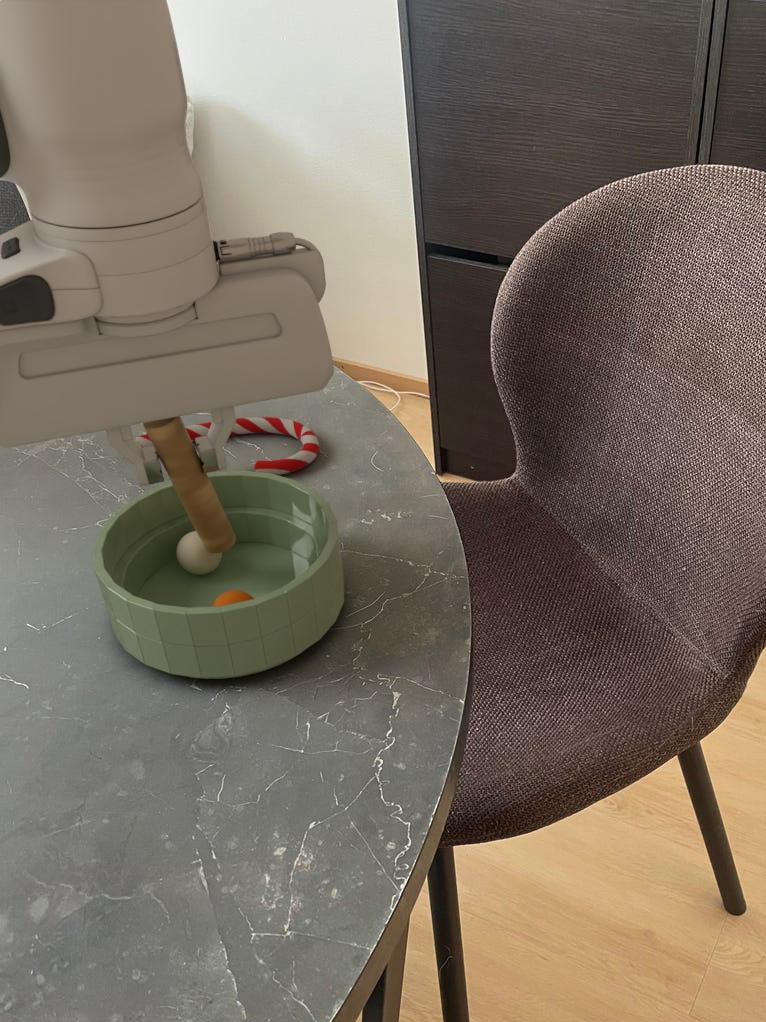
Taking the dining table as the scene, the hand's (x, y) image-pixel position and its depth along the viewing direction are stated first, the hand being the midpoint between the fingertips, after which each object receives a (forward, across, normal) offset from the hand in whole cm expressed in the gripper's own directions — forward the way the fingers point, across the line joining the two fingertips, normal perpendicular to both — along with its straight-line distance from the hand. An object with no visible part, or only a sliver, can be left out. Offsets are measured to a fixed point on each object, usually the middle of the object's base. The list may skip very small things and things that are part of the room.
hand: (182, 473), depth 65 cm
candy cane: (+10, -4, -17) cm, 20 cm away
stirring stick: (+6, -1, 0) cm, 6 cm away
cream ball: (+7, 0, -1) cm, 7 cm away
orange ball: (+7, -1, +6) cm, 9 cm away
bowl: (+9, -1, +2) cm, 10 cm away
